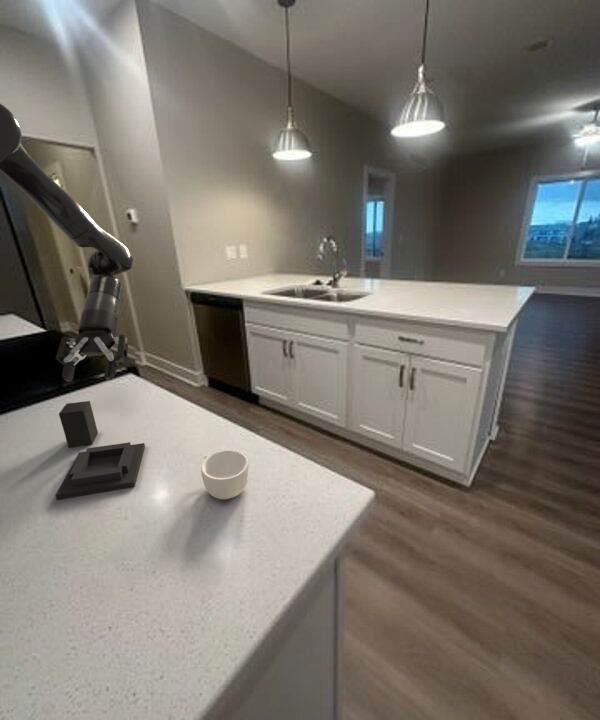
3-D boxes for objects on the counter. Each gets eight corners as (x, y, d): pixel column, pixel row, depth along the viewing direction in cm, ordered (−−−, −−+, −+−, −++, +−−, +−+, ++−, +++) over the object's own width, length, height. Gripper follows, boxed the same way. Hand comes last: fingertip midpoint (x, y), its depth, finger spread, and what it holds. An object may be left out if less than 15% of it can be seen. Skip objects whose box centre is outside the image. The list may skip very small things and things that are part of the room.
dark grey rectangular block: (68, 447, 70) (58, 413, 68) (75, 435, 74) (66, 403, 71) (92, 444, 71) (83, 410, 69) (98, 433, 75) (89, 400, 73)
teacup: (259, 488, 59) (257, 462, 57) (222, 514, 54) (219, 487, 52) (224, 463, 65) (221, 439, 64) (188, 484, 60) (184, 459, 58)
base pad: (56, 500, 57) (52, 488, 56) (80, 456, 68) (77, 445, 67) (134, 486, 60) (132, 475, 59) (145, 446, 71) (143, 436, 70)
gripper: (59, 308, 78) (43, 374, 71) (124, 306, 79) (114, 372, 72) (77, 324, 85) (63, 386, 78) (137, 323, 86) (128, 384, 79)
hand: (88, 379), depth 75 cm, fingers open, 8 cm apart
